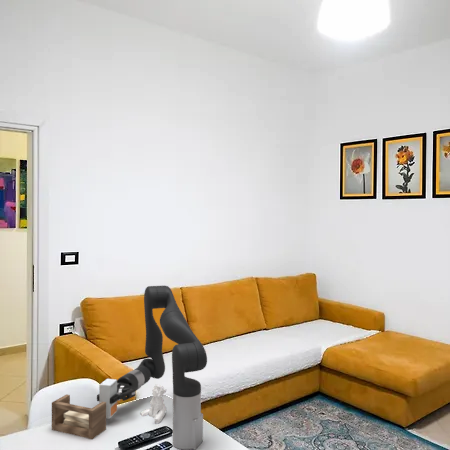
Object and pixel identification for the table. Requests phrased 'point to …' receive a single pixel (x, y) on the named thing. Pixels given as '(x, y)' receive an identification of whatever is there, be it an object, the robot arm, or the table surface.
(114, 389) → the skincare box
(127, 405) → the table surface
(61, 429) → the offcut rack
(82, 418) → the offcut stack
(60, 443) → the table surface
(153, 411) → the sitting furry creature
